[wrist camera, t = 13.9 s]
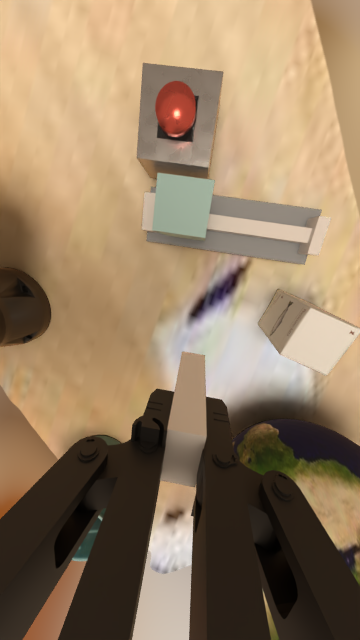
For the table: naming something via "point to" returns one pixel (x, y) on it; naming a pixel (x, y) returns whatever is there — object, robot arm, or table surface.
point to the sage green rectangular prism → (182, 206)
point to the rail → (247, 241)
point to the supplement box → (307, 332)
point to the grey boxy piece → (197, 154)
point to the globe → (311, 477)
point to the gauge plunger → (176, 111)
